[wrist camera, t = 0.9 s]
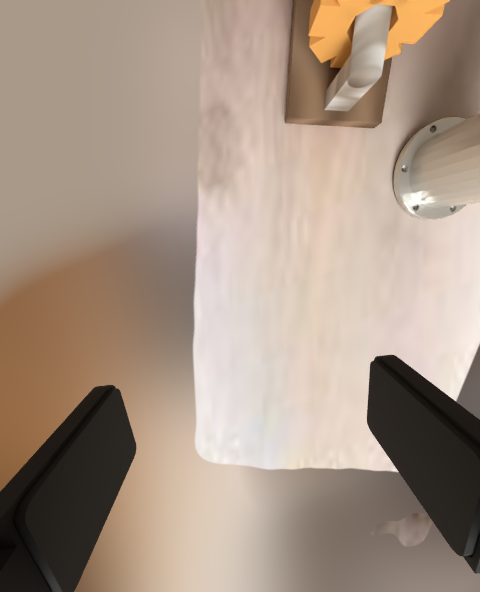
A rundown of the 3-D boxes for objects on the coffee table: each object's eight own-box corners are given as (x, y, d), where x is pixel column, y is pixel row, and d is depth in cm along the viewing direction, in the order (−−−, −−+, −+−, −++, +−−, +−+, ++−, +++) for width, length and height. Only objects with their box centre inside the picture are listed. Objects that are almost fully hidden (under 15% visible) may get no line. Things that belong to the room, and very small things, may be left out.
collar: (391, 50, 26) (502, -77, 15) (388, 71, 27) (493, -37, 16) (298, 43, 26) (347, -94, 15) (296, 64, 26) (343, -52, 15)
